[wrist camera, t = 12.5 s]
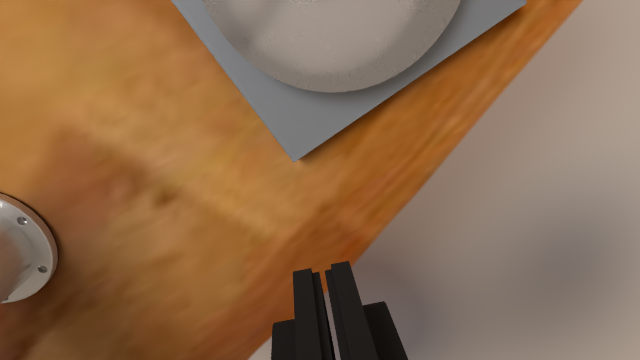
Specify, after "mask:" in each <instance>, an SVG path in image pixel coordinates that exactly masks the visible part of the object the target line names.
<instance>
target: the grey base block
mask: <svg viewBox="0 0 640 360" xmlns="http://www.w3.org/2000/svg"><path fill="white" fill-rule="evenodd" d="M171 1H172V2H173V3H174V5H175V6H176V7H177V9H178V10H179V11H180V13H181V14H182V15H183V16H184V18H185V19H186V20H187V22H188V23H189V24H190V26H191V27H192V28H193V30H194V31H195V32H196V34H197V35H198V36H199V38H200V39H201V40H202V42H203V43H204V44H205V46H206V47H207V48H208V50H209V51H210V52H211V54H212V55H213V56H214V58H215V59H216V60H217V61H218V63H219V64H220V65H221V67H222V68H223V69H224V71H225V72H226V73H227V75H228V76H229V77H230V79H231V80H232V81H233V83H234V84H235V85H236V87H237V88H238V89H239V91H240V92H241V93H242V95H243V96H244V97H245V99H246V100H247V101H248V103H249V104H250V105H251V106H252V108H253V109H254V110H255V112H256V113H257V114H258V116H259V117H260V118H261V120H262V121H263V122H264V124H265V125H266V126H267V128H268V129H269V130H270V132H271V133H272V134H273V136H274V137H275V138H276V140H277V141H278V142H279V144H280V145H281V146H282V148H283V149H284V150H285V151H286V153H287V154H288V155H289V157H290V158H291V159H292V161H293V162H295V161H297V160H298V159H300V158H301V157H303V156H304V155H306V154H307V153H308V152H310V151H311V150H313V149H314V148H316V147H317V146H319V145H320V144H322V143H323V142H325V141H326V140H327V139H329V138H330V137H332V136H333V135H335V134H336V133H338V132H339V131H341V130H342V129H344V128H345V127H346V126H348V125H349V124H351V123H352V122H354V121H355V120H357V119H358V118H360V117H361V116H363V115H364V114H365V113H367V112H368V111H370V110H371V109H373V108H374V107H376V106H377V105H379V104H380V103H382V102H383V101H384V100H386V99H387V98H389V97H390V96H392V95H393V94H395V93H396V92H398V91H399V90H401V89H402V88H403V87H405V86H406V85H408V84H409V83H411V82H412V81H414V80H415V79H417V78H418V77H420V76H421V75H422V74H424V73H425V72H427V71H428V70H430V69H431V68H433V67H434V66H436V65H437V64H438V63H440V62H441V61H443V60H444V59H446V58H447V57H449V56H450V55H452V54H453V53H455V52H456V51H457V50H459V49H460V48H462V47H463V46H465V45H466V44H468V43H469V42H471V41H472V40H474V39H475V38H476V37H478V36H479V35H481V34H482V33H484V32H485V31H487V30H488V29H490V28H491V27H493V26H494V25H495V24H497V23H498V22H500V21H501V20H503V19H504V18H506V17H507V16H509V15H510V14H512V13H513V12H514V11H516V10H517V9H519V8H520V7H522V6H523V5H525V4H526V3H527V2H526V0H461V1H460V4H459V6H458V8H457V10H456V12H455V14H454V15H453V17H452V19H451V20H450V22H449V24H448V25H447V27H446V28H445V30H444V31H443V32H442V34H441V35H440V36H439V38H438V39H437V40H436V42H435V43H434V44H433V45H432V46H431V47H430V48H429V49H428V50H427V51H426V52H425V53H424V55H423V56H421V57H420V58H419V59H418V60H417V61H415V62H414V63H413V64H412V65H411V66H409V67H408V68H406V69H405V70H403V71H402V72H400V73H399V74H397V75H396V76H394V77H392V78H390V79H388V80H385V81H383V82H381V83H379V84H376V85H373V86H370V87H367V88H364V89H359V90H354V91H348V92H333V93H328V92H317V91H310V90H306V89H301V88H297V87H294V86H292V85H289V84H286V83H283V82H281V81H279V80H277V79H275V78H273V77H271V76H269V75H267V74H265V73H264V72H262V71H261V70H260V69H258V68H257V67H255V66H254V65H253V64H251V63H250V62H249V61H247V60H246V59H245V58H244V57H243V56H242V55H241V54H240V53H239V52H238V51H236V50H235V48H234V47H233V46H232V45H231V44H230V43H229V42H228V40H227V39H226V38H225V37H224V36H223V35H222V33H221V32H220V30H219V29H218V27H217V26H216V24H215V23H214V21H213V20H212V18H211V17H210V15H209V13H208V11H207V9H206V7H205V5H204V3H203V1H202V0H171Z"/></svg>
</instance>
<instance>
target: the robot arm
mask: <svg viewBox="0 0 640 360" xmlns="http://www.w3.org/2000/svg"><path fill="white" fill-rule="evenodd" d="M57 261H58V254H57V247H56V243H55V240H54V238H53V236H52V234H51V232H50V230H49V228H48V227H47V226H46V224H45V223H44V222H43V221H42V219H41V218H40V217H39V216H37V215H36V214H35V213H34V212H33V211H32V210H31V209H29V208H28V207H26V206H25V205H23V204H22V203H21V202H19V201H17V200H15V199H13V198H11V197H9V196H7V195H4V194H1V193H0V304H1V303H9V302H15V301H19V300H22V299H25V298H27V297H29V296H31V295H33V294H35V293H36V292H37V291H39V290H40V289H41V288H42V287H43V286H44V285H45V284H46V283H47V282H48V281H49V280H50V278H51V277H52V275H53V273H54V271H55V269H56V265H57ZM331 268H332V269H331V270H326V271H325V275H326V280H327V286H328V291H329V297H330V302H331V307H332V313H333V318H334V324H335V329H336V335H337V341H338V346H339V352H340V357H341V360H408V358H407V356H406V353H405V351H404V348H403V345H402V343H401V340H400V338H399V335H398V333H397V330H396V328H395V325H394V323H393V320H392V318H391V315H390V313H389V310H388V307H387V305H386V303H385V302H384V301H383V302H378V303H373V304H368V305H363V306H362V303H361V300H360V296H359V293H358V290H357V286H356V283H355V280H354V276H353V273H352V270H351V266H350V263H349V261H346V262H341V263H336V264H331ZM293 287H294V313H295V319H292V320H286V321H281V322H276V323H274V324H273V329H272V353H271V355H272V356H271V360H336V359H335V353H334V347H333V342H332V336H331V331H330V326H329V321H328V316H327V311H326V305H325V300H324V295H323V289H322V284H321V279H320V274H319V272H315V273H312V270H311V268H310V269H304V270H299V271H294V272H293Z"/></svg>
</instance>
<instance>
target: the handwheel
mask: <svg viewBox="0 0 640 360" xmlns="http://www.w3.org/2000/svg"><path fill="white" fill-rule="evenodd" d="M202 1H203V3H204V5H205V7H206V9H207V11H208V13H209V15H210V17H211V18H212V20H213V21H214V23H215V24H216V26H217V27H218V29H219V30H220V32H221V33H222V35H223V36H224V37H225V38H226V39H227V40H228V42H229V43H230V44H231V45H232V46H233V47H234V48H235V50H236V51H238V52H239V53H240V54H241V55H242V56H243V57H244V58H245V59H246V60H247V61H249V62H250V63H251V64H253V65H254V66H255V67H257V68H258V69H260V70H261V71H262V72H264V73H265V74H267V75H269V76H271V77H273V78H275V79H277V80H279V81H281V82H283V83H286V84H289V85H292V86H294V87H297V88H301V89H306V90H310V91H317V92H328V93H333V92H348V91H354V90H359V89H364V88H367V87H370V86H373V85H376V84H379V83H381V82H383V81H385V80H388V79H390V78H392V77H394V76H396V75H397V74H399V73H400V72H402V71H403V70H405V69H406V68H408V67H409V66H411V65H412V64H413V63H414V62H415V61H417V60H418V59H419V58H420V57H421V56H423V55H424V53H425V52H426V51H427V50H428V49H429V48H430V47H431V46H432V45H433V44H434V43H435V42H436V40H437V39H438V38H439V36H440V35H441V34H442V32H443V31H444V30H445V28H446V27H447V25H448V24H449V22H450V20H451V19H452V17H453V15H454V14H455V12H456V10H457V8H458V6H459V4H460V1H461V0H202Z"/></svg>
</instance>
